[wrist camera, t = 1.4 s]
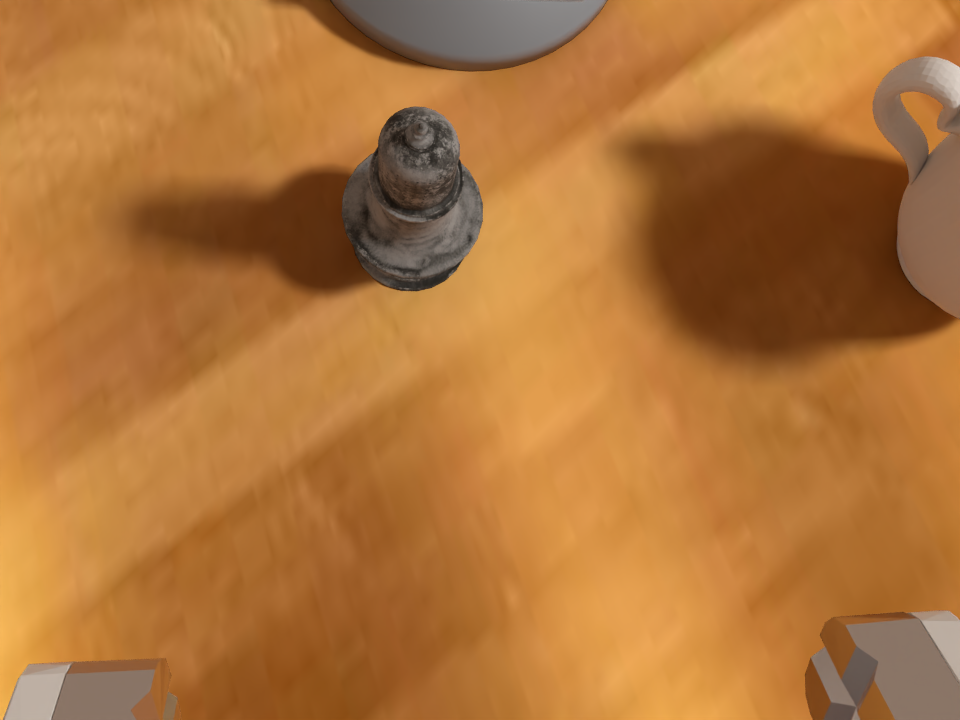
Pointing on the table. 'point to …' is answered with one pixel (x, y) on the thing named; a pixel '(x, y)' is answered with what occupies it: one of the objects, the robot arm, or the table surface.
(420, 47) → the socket stand
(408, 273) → the dark grey tapered piece
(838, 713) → the robot arm
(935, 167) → the teacup
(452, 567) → the table surface
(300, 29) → the table surface
